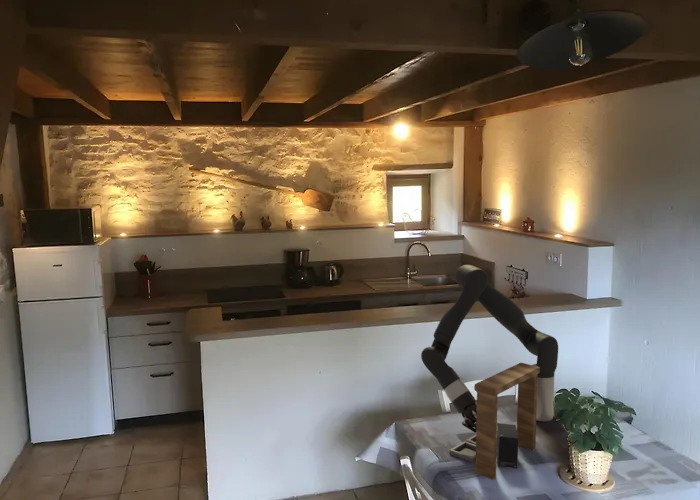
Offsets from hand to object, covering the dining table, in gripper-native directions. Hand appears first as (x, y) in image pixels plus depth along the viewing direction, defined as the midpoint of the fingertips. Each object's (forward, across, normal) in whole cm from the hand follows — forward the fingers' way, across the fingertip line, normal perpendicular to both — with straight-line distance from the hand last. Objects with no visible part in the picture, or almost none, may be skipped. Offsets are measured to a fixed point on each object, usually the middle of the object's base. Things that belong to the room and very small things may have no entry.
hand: (490, 440), depth 187 cm
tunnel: (+8, 0, -1) cm, 8 cm away
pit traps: (0, 0, +7) cm, 7 cm away
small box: (+8, 0, -1) cm, 8 cm away
